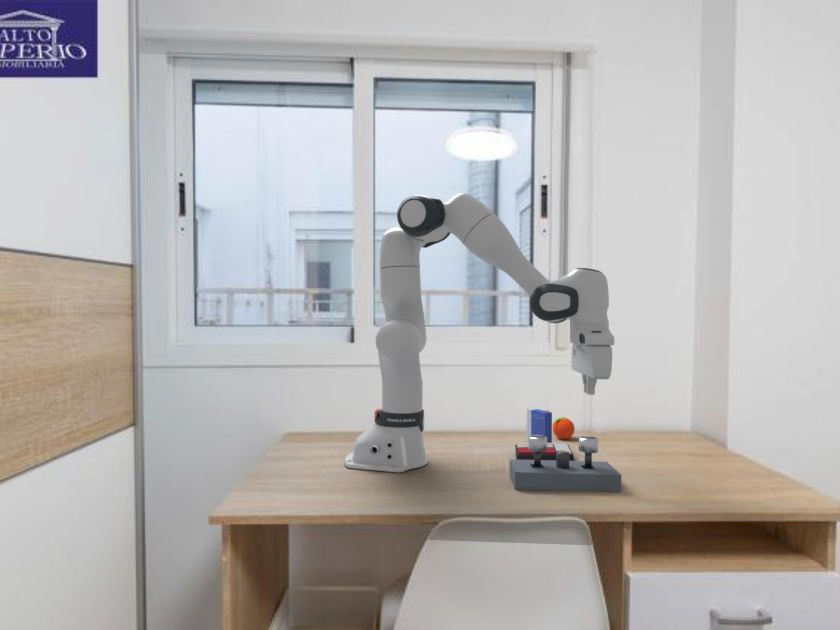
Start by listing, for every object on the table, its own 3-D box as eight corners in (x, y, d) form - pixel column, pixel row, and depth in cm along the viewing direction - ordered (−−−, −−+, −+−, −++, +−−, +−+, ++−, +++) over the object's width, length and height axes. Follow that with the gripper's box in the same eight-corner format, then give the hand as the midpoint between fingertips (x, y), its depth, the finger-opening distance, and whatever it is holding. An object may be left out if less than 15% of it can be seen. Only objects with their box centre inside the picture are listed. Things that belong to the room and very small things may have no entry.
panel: (515, 489, 112) (515, 472, 112) (509, 475, 122) (509, 459, 122) (621, 492, 110) (621, 474, 110) (606, 477, 120) (606, 461, 120)
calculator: (515, 441, 142) (568, 441, 140) (515, 456, 142) (568, 456, 139) (516, 452, 131) (573, 451, 129) (517, 467, 131) (574, 468, 129)
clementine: (559, 442, 154) (559, 420, 154) (545, 437, 160) (545, 416, 160) (579, 440, 157) (579, 418, 157) (564, 435, 163) (564, 414, 163)
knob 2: (581, 469, 114) (581, 439, 114) (576, 463, 118) (576, 435, 118) (600, 470, 113) (600, 440, 113) (594, 464, 118) (595, 435, 118)
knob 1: (529, 468, 114) (530, 438, 114) (526, 462, 119) (526, 433, 119) (548, 468, 114) (548, 438, 114) (544, 463, 118) (545, 434, 118)
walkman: (551, 451, 143) (552, 411, 144) (545, 452, 142) (545, 412, 142) (532, 445, 150) (533, 406, 150) (526, 446, 149) (526, 407, 149)
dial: (557, 468, 115) (557, 453, 115) (555, 464, 118) (555, 449, 118) (570, 468, 114) (570, 453, 115) (567, 464, 118) (567, 449, 118)
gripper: (565, 334, 126) (565, 387, 126) (587, 337, 106) (588, 400, 106) (589, 334, 126) (589, 387, 126) (617, 337, 106) (617, 401, 106)
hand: (589, 393), depth 116 cm, fingers closed
